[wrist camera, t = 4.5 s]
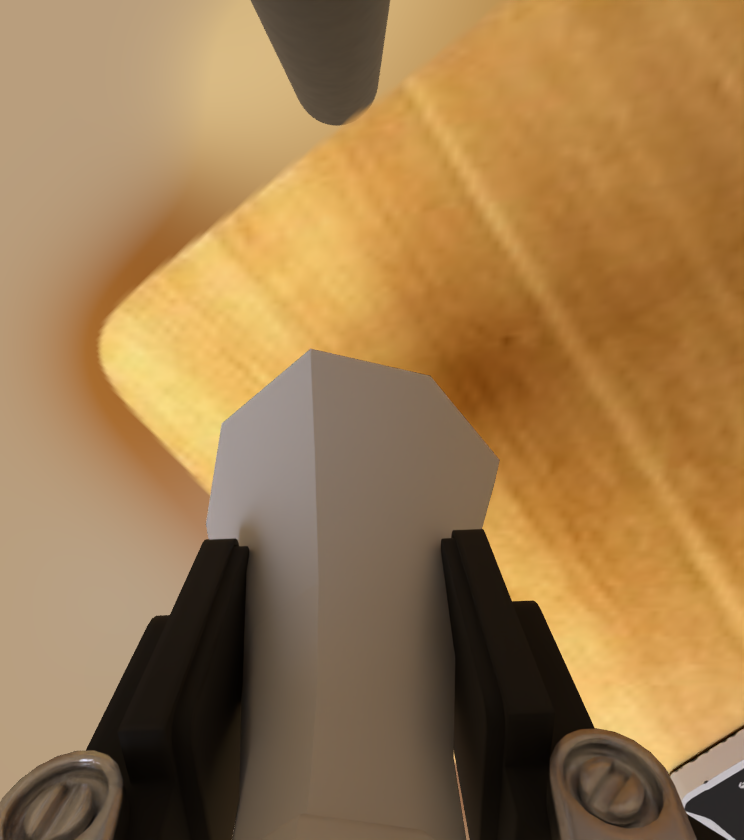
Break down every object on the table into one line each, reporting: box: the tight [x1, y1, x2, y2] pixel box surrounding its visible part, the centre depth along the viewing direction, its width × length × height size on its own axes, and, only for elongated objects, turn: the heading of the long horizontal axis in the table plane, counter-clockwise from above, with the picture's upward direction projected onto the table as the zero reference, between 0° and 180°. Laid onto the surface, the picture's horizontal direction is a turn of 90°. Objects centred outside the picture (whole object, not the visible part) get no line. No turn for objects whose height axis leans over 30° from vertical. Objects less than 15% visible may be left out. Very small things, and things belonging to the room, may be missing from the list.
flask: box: [206, 349, 499, 840], centre depth 10 cm, size 7×7×10 cm
